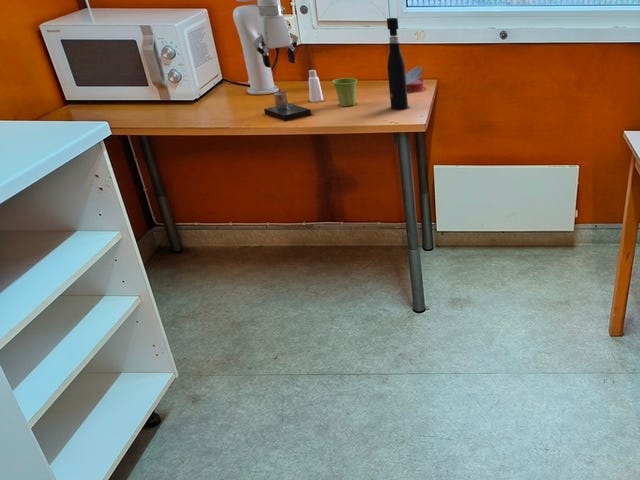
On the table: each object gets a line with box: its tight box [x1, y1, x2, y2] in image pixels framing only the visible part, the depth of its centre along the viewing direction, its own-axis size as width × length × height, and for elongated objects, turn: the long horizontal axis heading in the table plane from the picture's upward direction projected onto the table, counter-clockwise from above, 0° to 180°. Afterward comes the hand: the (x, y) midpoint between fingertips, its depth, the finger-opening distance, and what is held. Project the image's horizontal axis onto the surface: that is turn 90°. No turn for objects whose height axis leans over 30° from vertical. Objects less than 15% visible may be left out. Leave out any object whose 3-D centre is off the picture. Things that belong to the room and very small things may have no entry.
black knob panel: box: [263, 102, 312, 122], centre depth 234 cm, size 14×11×2 cm
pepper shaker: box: [308, 69, 325, 103], centre depth 249 cm, size 5×5×11 cm
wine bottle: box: [386, 17, 409, 111], centre depth 232 cm, size 6×6×30 cm
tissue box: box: [405, 66, 425, 93], centre depth 263 cm, size 11×10×10 cm
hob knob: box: [273, 91, 289, 109], centre depth 234 cm, size 4×4×5 cm
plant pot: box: [331, 77, 358, 107], centre depth 243 cm, size 9×9×9 cm
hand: (280, 64), depth 230 cm, fingers open, 9 cm apart
